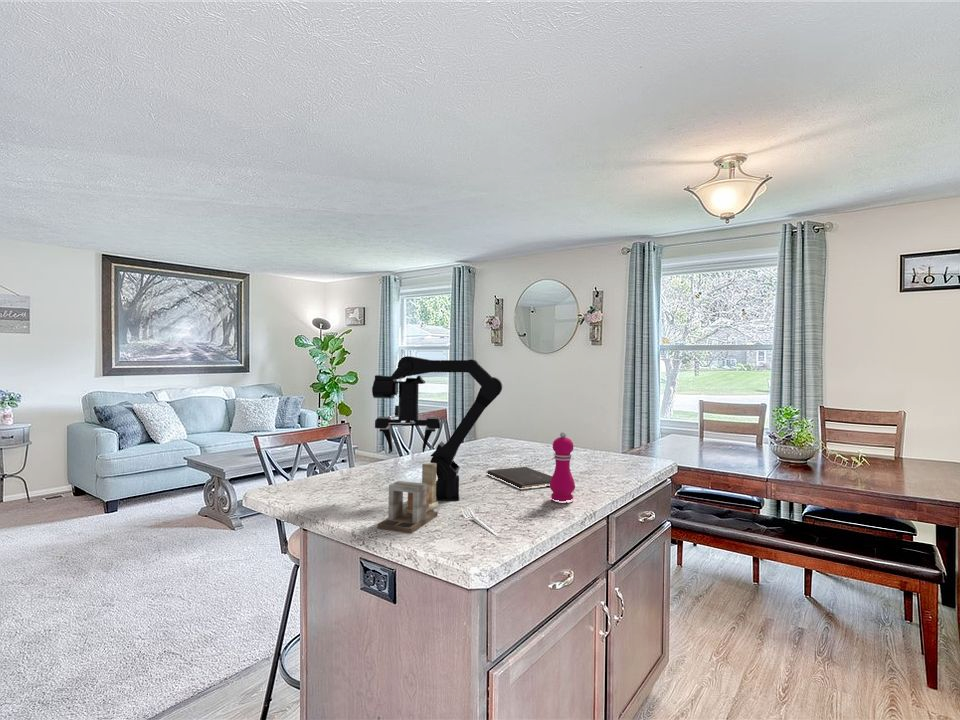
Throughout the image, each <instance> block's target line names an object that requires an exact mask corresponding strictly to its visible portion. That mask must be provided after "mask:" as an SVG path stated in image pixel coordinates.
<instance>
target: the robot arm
mask: <svg viewBox="0 0 960 720" xmlns="http://www.w3.org/2000/svg"><path fill="white" fill-rule="evenodd" d="M428 373H467V374H469V375H470V376H471V377H472V378H473V379H474V380H475V381H476V382H477V383H478V385H479V386H480V389H478V390H479V391H478V393H477V396H476V397H475V400H474V401H473V404H472V405H471V407H470V408H469V410H468V411H467V413H466V414H465V415H464V417H463V418H462V420H461V421H460V422H459V424H458V426H457V427H456V429H455V431H454V432H453V433H452V435H451V436H450V438H449V439H448V440H447V441H446V442H445V443H444V442H443V441H442V440H441V441H440V442H439V444H438V445H436V449H435V451H433V452H432V453H431V455H430V457H431V459H430V461H429V463H437V467H436V501H460V476H459V475H458V473H459V471H460V470H461V469H460V468H461V467H460V466H459V465H458V463H457V462H455V457H456V456H457V454H458V450H459V448H460V446H461V445H462V443H463V441H464V440H465V439H466V437H467V435H468V434H469V433H470V431H471V430H472V428H473V427H474V425H475V424H476V423H477V421H478V420H479V418H480V417H481V415H482V414H483V412H484V411H485V409H486V408H487V407H488V406H490V404H491V403H493V401H494V400H495V399H496V398H497V397H498V396H499V395H500V394H501V392H502V390H503V384H502V381H501V380H500V379H499V378H498V377H496V376H492V375H490V373H489V372H488V371H487V370H485V369H484V368H483V366H481V365H480V364H479V362H478V361H477V360H476V359H467V360H466V359H463V360H462V359H461V360H459V359H458V360H457V359H456V360H455V359H453V360H451V359H448V360H447V359H446V360H445V359H441V360H440V359H438V360H437V359H435V360H434V359H432V360H431V359H427V358H421V357H417V356H416V357H415V356H403V357H401V358H400V359H399V360H398V363H397V368H396V369H395V371H394V372H393V373H392V374H391V376H390V375H382V374H376V375H374V379H373V385H372V387H371V393H372V398H373V399H394V398H395V396H398V405H395V406H394V417H395V418H397V419H394V418H392V419H391V416H378V417H377V418H376V419H375V420H374V429H379V431H378V432H382V433H383V435H384V437H385V439H386V441H387V442H386V443H387V445H388V448H389V451H390V453H393V449H394V448H393V447H394V446H393V437H392V426H394V427H395V426H396V427H397V426H398V427H399V426H402V427H403V426H407V427H410V426H415V427H425V430H424V436H423V441H422V442H423V443H422V453H425V450H426V447H427V445H428V441H429V439H430V437H431V435H432V433H433V432H436V429H441V419H440V417H438V416H427V417H426V419H419V385H424V384H426V381H425V380H424V379H423V378H422V376H421V375H423V374H428ZM410 376H417V377H410ZM405 378H406V379H405ZM401 379H405V381H402V380H401ZM400 380H401V381H400Z"/></svg>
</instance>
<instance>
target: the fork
mask: <svg viewBox="0 0 960 720" xmlns="http://www.w3.org/2000/svg"><path fill="white" fill-rule="evenodd" d="M468 509H469V510H468ZM460 510H461V514H462V517H463V518H464V517H465V518H464V519H466V518H468V517H470V518H471V517H475V516H476V514H475V513H474V512H473V511H472V509H471V507H467V506H466V507H465V508H464V507H463V508H460ZM470 520H471V521H474V522H475V523H476V524H477V525H479V526H480V525H481V526H482V527H481V526H480V527H481V528H483V527H484V528H485V529H484V528H483V529H484V530H486V529H487V530H488V532H489V531H490V532H492V533H493V534H494V535H493V534H492V533H491V534H492V535H493V536H495V535H497V536H498V535H499V534H497V532H495V531H494V530H493V529H492V528H491V527H489V526H488V525H486V523H484V522H483V521H482V520H481V519H480V518H479V517H477V516H476V517H475V518H471V519H468V520H467V521H470ZM487 530H486V531H487ZM490 532H489V533H490Z"/></svg>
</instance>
